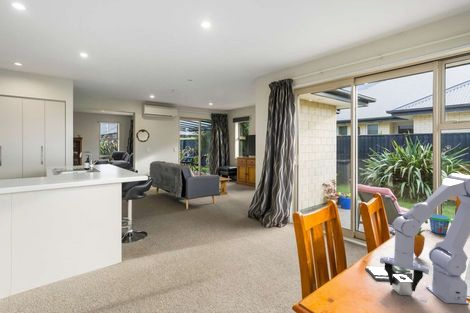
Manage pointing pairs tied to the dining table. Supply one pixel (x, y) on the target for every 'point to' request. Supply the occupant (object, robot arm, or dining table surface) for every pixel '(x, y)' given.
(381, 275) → the press
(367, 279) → the dining table surface
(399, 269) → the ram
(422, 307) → the dining table surface
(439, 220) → the snack cup
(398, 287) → the block
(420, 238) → the carrot
